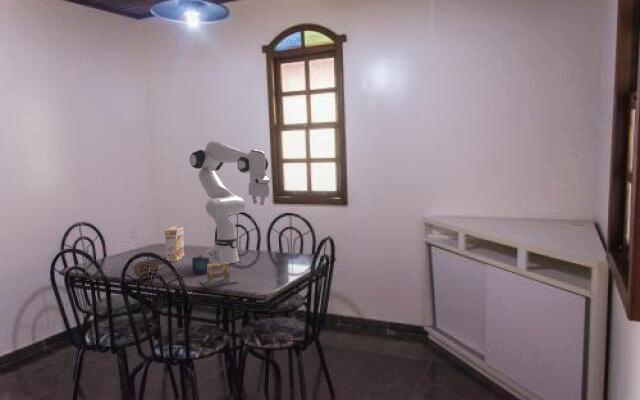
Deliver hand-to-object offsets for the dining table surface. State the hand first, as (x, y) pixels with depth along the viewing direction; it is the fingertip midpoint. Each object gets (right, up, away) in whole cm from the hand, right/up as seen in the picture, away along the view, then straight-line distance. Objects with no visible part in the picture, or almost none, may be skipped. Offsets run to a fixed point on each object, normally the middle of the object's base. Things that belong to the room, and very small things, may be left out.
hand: (258, 204), depth 257 cm
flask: (-31, -38, -1) cm, 49 cm away
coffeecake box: (-56, -34, +33) cm, 73 cm away
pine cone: (-55, -39, -9) cm, 68 cm away
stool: (-13, -34, -18) cm, 41 cm away
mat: (-18, -40, -20) cm, 48 cm away
